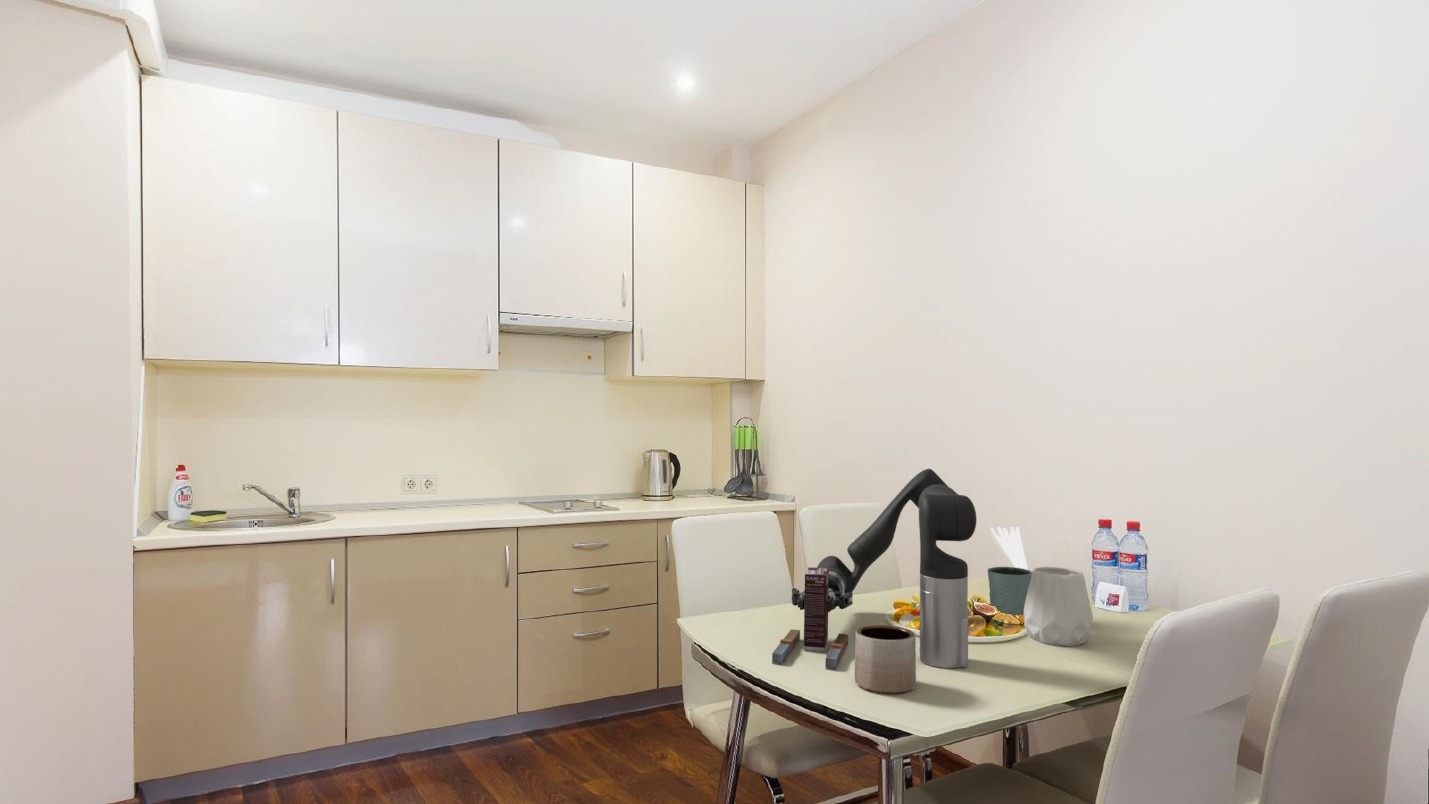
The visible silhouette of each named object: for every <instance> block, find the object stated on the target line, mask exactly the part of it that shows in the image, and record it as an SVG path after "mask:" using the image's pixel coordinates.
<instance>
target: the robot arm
mask: <svg viewBox="0 0 1429 804" xmlns="http://www.w3.org/2000/svg"><path fill="white" fill-rule="evenodd" d="M909 501H911V502H912V503H913V504H914V505H915V507H917V508H918V525H919V526H918V528H919V553H920V554H919V557H920V558H919V559H920V560H919V561H920V562H919V661H920V662H921V663H924V665H928V666H933V667H937V668H944V669H947V668H948V669H953V668H954V669H955V668H956V669H957V668H968V667H969V616H968V615H969V614H968V613H969V611H968V606H969V603H968V602H969V601H968V600H969V599H968V598H969V596H968V595H969V593H968V590H969V589H968V588H969V587H968V586H969V584H968V583H969V581H968V580H969V578H968V577H969V566H968V563H967V562H966V561H965V560H964V559H962V558H960V557H957V556H954V555H952V554H949V553H947V552H946V551H944V550H943V549H940V547H938V546H937V541H940V542H942V541H943V542H963V541H964V542H965V541H967V540H970V538H972V537H973V535H974V533H975V531H976V527H977V512H976V507H975V505H974V503H973V501H972V500H971V498H970V497H969V496H966V495H963V494H959V493H957V492H956V491H955V489H953V488H951V487H950V486H948V484H947V483H946V482H945V481H944V480H943V479H942V478H941V477H940V476H939V475H938V474H937V473H936V472H935V471H934V470H933V469H932V468H927V469H923V470H922V471H920V472H919V473H917V474H916V475H914V476H913V478H912V479H910V481H908V483H906V485H905V486H904V487H903V488H902V489H901V490H900V491H899V492H898V493H897V494H896V496H895V497H893V499H892V500H891V502H890V503H888V505H887V506H886V507H885V509H884V510H883V511H881V513H880V514H879V515H878V516H877V518H876V519H875V520H874V521H873V522H872V524H870V526H868V527H867V529H866V530H864V531H863V532H862V533H861V534H860V535H859V536H858V537H856V538H855V539H854V541H853V542H851V543H850V544H849V546H848V547H847V553H848V555H849V557H850V559H851V560H852V562H853V566H854V568H853V570H852V571H851V569H849V567H847V565H846V564H845V563H844V562H843V561H842V560H841V559H840V558H839V557H837V556H836V555H829V556H826V557H824V558H823V559H821V561H820V562H819V563H818V565H817V566H816V568H828V569H829V585H828V600H827V612H828V613H830V612H831V611H833V610H835V609H837V608H838V609H840V610H845V609H846V608H848V607H850V606H852V605H853V599H854V598H853V597H854V596H853V592H854V590H855V589H856V587H857V585H858V583H859V582H860V581H861V578H862V576H863V575H864V574H865V573H866V571H867V570H868V569H869V567H871V565H873V564H874V562H875V561H877V560H879V558H880V557H881V556H882V555H883V554H885V552H886V551H887V550H888V549H889V548H890V546H891V544H892V542H893V540H894V538H895V533H896V531H897V530H896V529H897V525H898V522H899V519H900V517H901V514H902V512H903V510H904V507H905V506H906V505H907V504H908V502H909ZM804 596H805V589H804V590H803V592H802V591H800V589H798V588H796V587H793V588H791V604H792V606H794V607H795V606H797V608H799V610H801V611H802V610H803V611H804Z"/></svg>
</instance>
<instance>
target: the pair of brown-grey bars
mask: <svg viewBox="0 0 1429 804" xmlns="http://www.w3.org/2000/svg"><path fill="white" fill-rule="evenodd" d="M800 639H801V629H790V630H789V631H788V633H786V635H785V636H784V637H783V638H781V639H780V641H779V644H778V645H777V646H776V648H775V649H774V650H773V652H772V654H771V661H772V662H771V664H773V665H783V664H784V663H785V661H786V660H787V659H788V658H789V655H790V654H791V653H792V652H793V649H794V648H795V647H796V646H797V644H798V643H799V641H800ZM848 645H849V633H838V634H837V637H836V638H835V640H834V642H833V643H831V647H830V649H829V651H828V652H827V654H826V657H825V666H824V667H825V670H834V671H836V670H837V668H838V666H839V664H840V662H841V660H842V658H843V656H844V653H845V652H846V648H847V647H848Z"/></svg>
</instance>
